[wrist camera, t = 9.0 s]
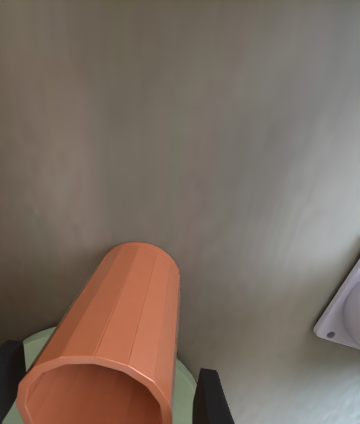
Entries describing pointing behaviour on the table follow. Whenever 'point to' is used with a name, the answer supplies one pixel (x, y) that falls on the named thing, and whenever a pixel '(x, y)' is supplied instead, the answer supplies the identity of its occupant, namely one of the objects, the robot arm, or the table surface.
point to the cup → (111, 346)
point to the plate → (182, 394)
